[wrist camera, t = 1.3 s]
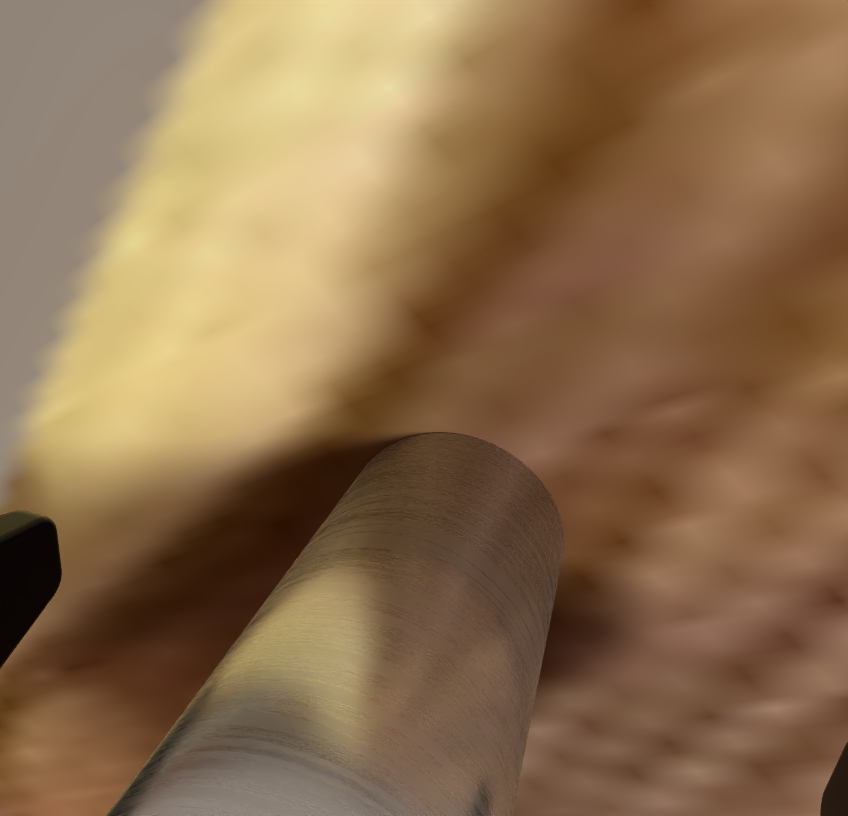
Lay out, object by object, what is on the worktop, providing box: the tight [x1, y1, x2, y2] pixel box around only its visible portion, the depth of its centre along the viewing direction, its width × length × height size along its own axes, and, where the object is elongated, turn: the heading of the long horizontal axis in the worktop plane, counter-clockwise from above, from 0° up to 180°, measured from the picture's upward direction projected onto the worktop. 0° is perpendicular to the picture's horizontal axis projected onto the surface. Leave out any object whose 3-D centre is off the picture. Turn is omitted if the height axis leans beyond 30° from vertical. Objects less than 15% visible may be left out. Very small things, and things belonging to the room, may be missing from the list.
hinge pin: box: [106, 433, 564, 816], centre depth 7 cm, size 3×3×8 cm
